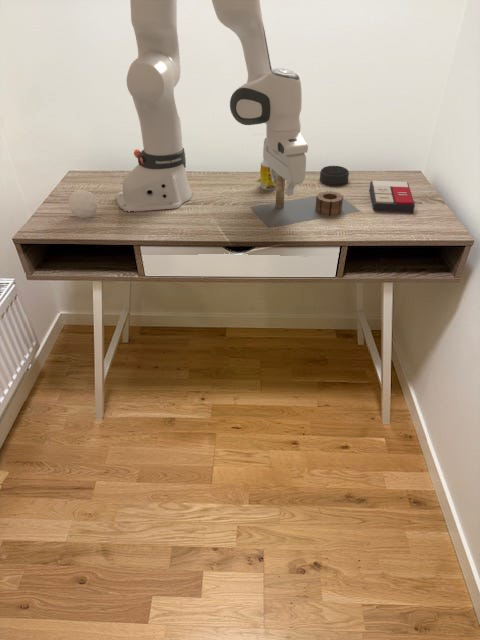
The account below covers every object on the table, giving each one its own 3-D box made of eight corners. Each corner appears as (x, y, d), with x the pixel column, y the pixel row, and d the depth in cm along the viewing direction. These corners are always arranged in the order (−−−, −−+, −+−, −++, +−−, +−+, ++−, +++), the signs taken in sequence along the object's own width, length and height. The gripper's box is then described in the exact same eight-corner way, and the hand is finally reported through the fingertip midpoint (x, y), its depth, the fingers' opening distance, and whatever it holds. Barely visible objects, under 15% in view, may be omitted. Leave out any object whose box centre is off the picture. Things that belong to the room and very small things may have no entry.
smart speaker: (331, 189, 150) (332, 177, 147) (313, 180, 156) (314, 168, 153) (353, 183, 153) (355, 171, 151) (335, 175, 159) (336, 163, 157)
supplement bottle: (267, 192, 148) (267, 159, 142) (256, 186, 152) (257, 154, 146) (281, 188, 150) (283, 155, 144) (271, 182, 154) (271, 150, 148)
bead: (323, 217, 133) (324, 203, 131) (311, 207, 138) (312, 193, 136) (345, 212, 135) (347, 199, 133) (333, 203, 140) (334, 190, 138)
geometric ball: (95, 225, 138) (103, 208, 132) (66, 222, 134) (73, 204, 128) (91, 204, 141) (99, 186, 135) (63, 200, 136) (70, 181, 130)
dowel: (277, 209, 138) (278, 174, 132) (274, 205, 139) (275, 171, 133) (285, 207, 138) (286, 173, 132) (281, 204, 140) (283, 170, 134)
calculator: (374, 201, 134) (370, 178, 145) (372, 215, 137) (368, 191, 148) (415, 202, 133) (408, 179, 144) (412, 216, 136) (405, 193, 147)
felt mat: (268, 229, 129) (268, 227, 128) (249, 208, 139) (249, 207, 139) (360, 212, 136) (360, 211, 136) (336, 193, 147) (336, 192, 146)
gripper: (257, 129, 134) (257, 177, 143) (288, 151, 119) (286, 204, 127) (278, 126, 136) (277, 174, 144) (311, 147, 120) (308, 200, 129)
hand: (282, 188), depth 136 cm, fingers open, 8 cm apart
